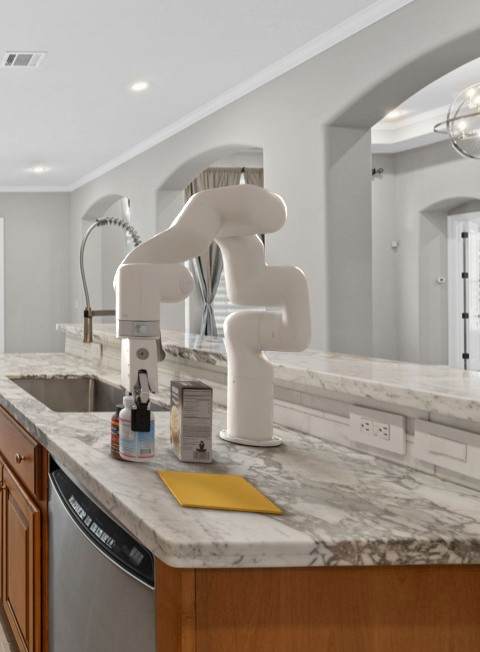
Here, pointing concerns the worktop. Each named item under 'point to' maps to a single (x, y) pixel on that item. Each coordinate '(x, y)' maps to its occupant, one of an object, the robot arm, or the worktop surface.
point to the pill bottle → (135, 436)
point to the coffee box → (191, 421)
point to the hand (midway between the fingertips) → (136, 426)
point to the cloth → (216, 492)
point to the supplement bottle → (116, 433)
